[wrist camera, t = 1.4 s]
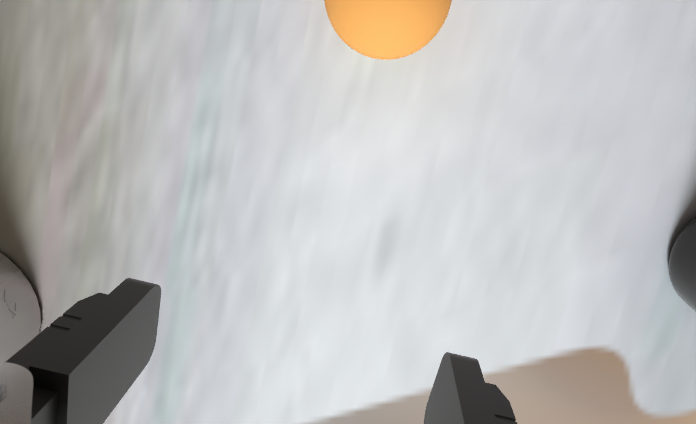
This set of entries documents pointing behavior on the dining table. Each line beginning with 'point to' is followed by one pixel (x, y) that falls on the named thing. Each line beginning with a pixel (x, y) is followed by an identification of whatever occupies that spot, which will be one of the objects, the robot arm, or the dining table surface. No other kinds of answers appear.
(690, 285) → the supplement bottle
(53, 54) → the dining table surface
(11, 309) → the robot arm
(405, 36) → the ball
